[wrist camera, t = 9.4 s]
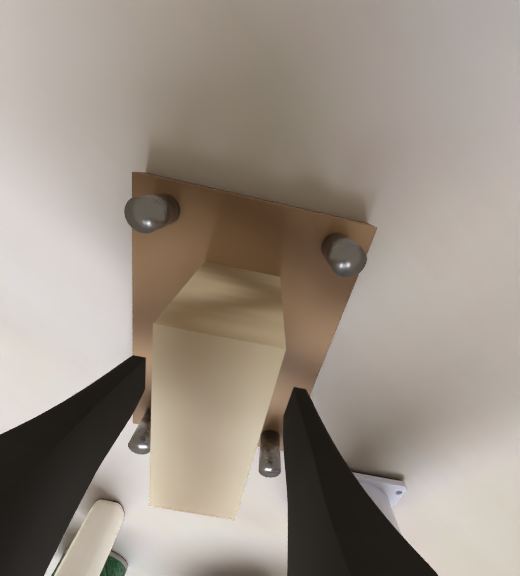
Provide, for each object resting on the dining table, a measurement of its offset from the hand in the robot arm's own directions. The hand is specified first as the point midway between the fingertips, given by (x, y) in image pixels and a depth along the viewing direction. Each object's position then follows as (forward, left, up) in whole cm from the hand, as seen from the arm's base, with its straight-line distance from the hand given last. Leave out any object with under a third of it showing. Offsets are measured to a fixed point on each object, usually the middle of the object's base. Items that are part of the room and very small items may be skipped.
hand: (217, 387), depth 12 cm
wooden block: (0, 0, -3) cm, 3 cm away
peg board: (0, 0, -4) cm, 4 cm away
